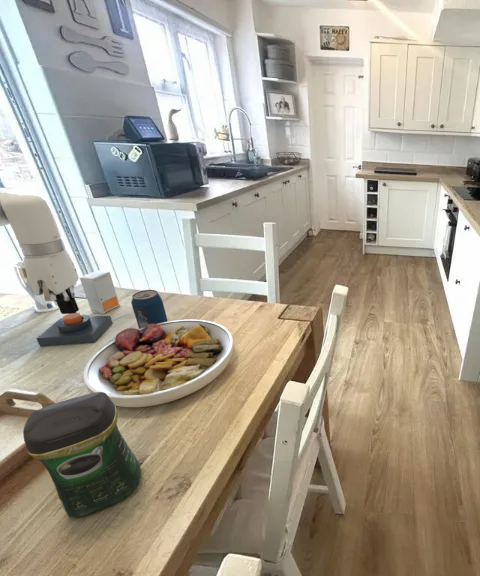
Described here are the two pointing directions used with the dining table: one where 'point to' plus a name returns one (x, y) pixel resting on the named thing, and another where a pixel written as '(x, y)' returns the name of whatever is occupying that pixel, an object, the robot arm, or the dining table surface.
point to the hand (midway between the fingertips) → (70, 312)
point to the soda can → (148, 308)
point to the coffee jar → (83, 453)
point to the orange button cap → (72, 318)
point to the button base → (75, 331)
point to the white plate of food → (159, 362)
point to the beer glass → (39, 300)
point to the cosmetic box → (100, 291)
